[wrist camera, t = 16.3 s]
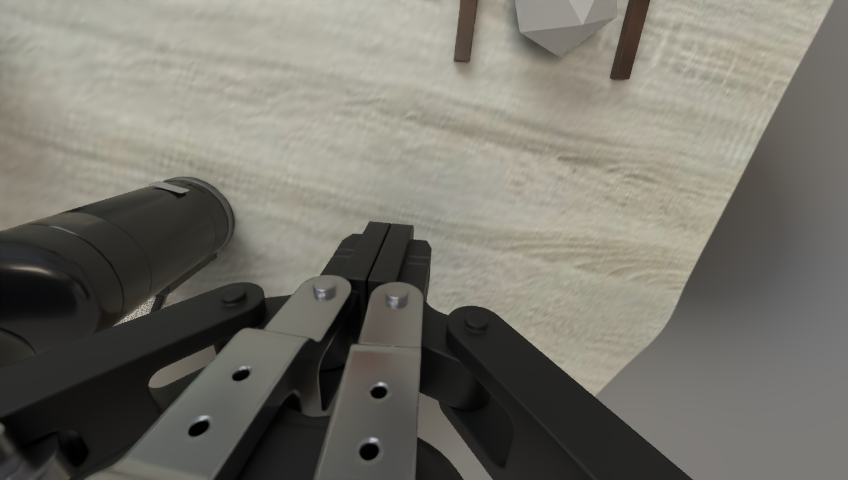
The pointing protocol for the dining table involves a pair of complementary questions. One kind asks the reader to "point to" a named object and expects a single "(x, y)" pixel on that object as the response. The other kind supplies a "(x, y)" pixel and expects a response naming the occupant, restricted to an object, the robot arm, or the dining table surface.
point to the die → (563, 21)
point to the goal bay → (624, 51)
